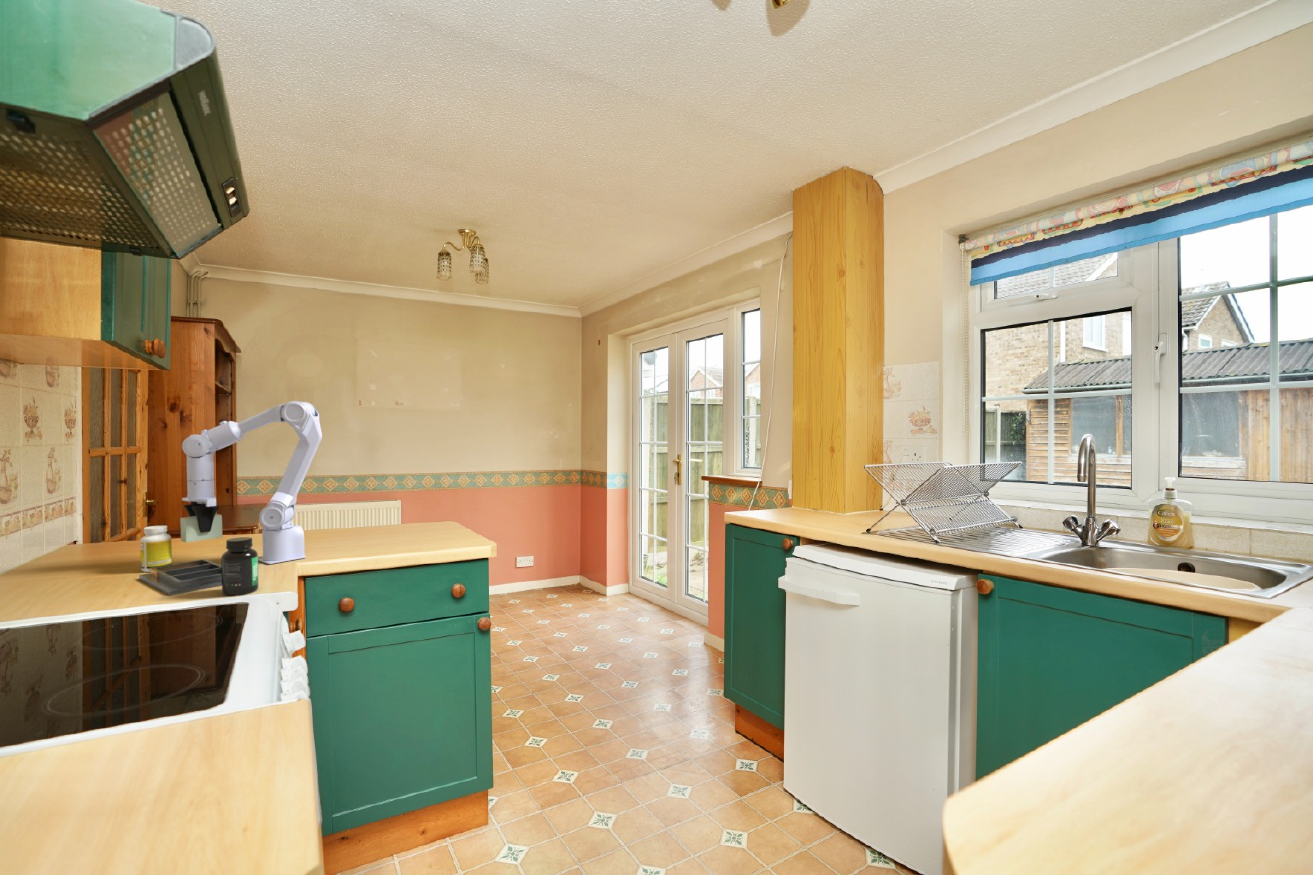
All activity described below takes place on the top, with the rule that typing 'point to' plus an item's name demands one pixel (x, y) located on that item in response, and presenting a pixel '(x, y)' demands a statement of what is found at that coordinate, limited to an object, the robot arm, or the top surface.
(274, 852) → the top surface
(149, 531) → the pill bottle
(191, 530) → the panel block
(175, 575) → the rack
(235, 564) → the supplement bottle
